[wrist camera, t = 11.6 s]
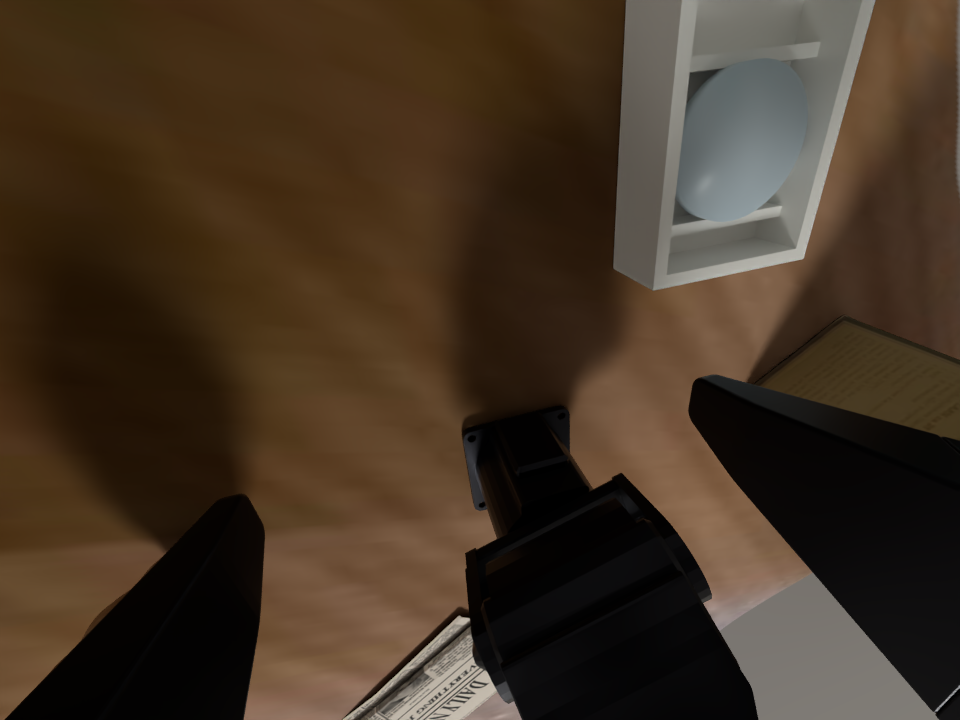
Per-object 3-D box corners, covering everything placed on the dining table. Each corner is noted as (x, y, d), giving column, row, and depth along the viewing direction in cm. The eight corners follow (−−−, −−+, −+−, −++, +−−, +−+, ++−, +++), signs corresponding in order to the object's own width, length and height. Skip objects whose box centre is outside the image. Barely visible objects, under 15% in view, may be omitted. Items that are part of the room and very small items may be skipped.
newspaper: (463, 594, 33) (473, 627, 31) (550, 617, 40) (562, 645, 38) (286, 751, 37) (284, 789, 35) (393, 746, 44) (397, 778, 42)
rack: (746, 242, 23) (803, 259, 20) (613, 268, 22) (653, 290, 19) (866, -344, 14) (1007, -475, 11) (643, -356, 12) (732, -508, 9)
